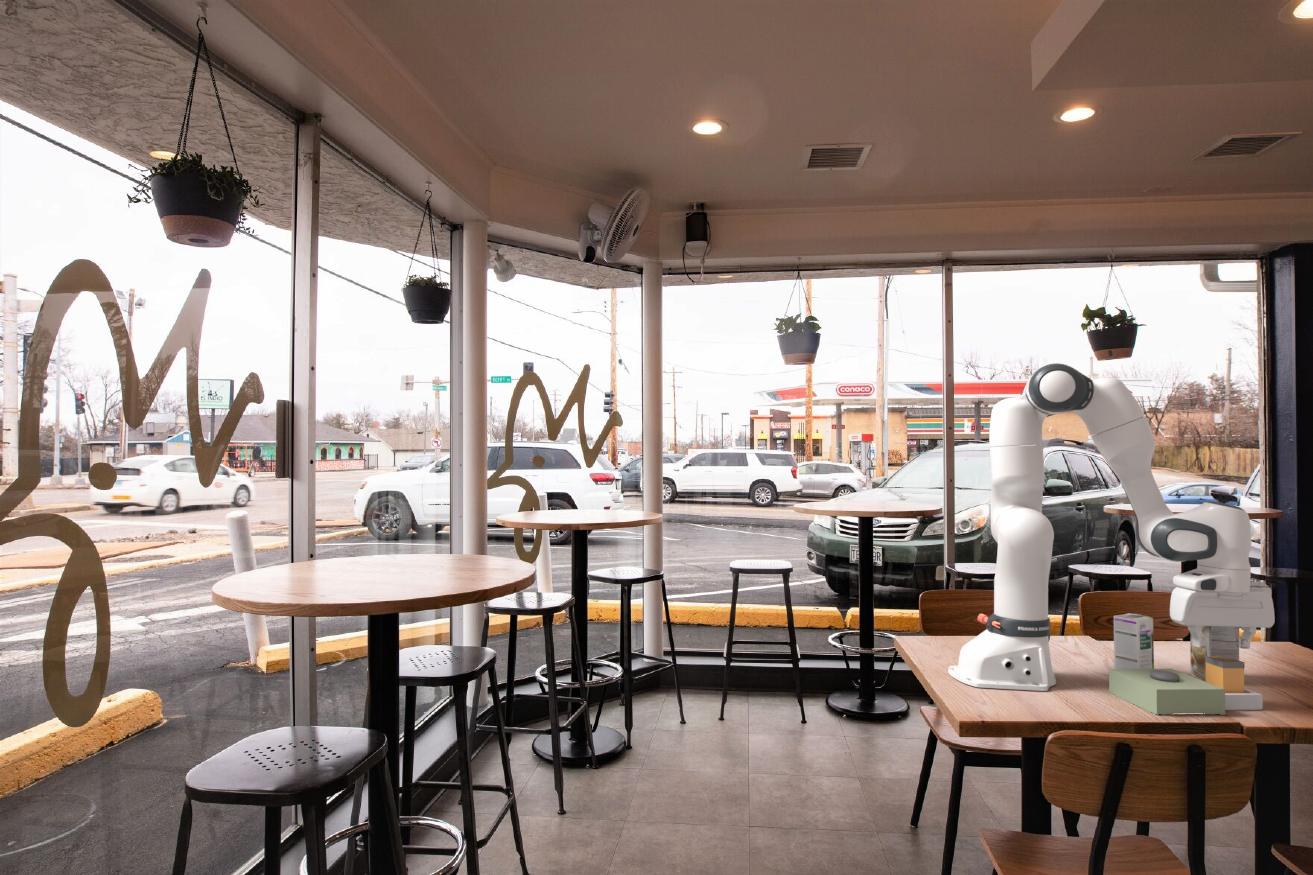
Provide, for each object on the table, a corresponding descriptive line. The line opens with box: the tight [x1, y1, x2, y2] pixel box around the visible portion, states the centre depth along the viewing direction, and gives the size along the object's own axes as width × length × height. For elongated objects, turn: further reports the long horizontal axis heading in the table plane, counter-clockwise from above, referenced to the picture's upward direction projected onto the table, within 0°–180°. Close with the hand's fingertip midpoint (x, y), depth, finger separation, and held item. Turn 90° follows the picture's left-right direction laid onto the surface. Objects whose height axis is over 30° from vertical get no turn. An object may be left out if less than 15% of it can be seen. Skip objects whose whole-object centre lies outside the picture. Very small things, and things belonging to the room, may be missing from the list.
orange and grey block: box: [1205, 656, 1246, 693], centre depth 153 cm, size 5×5×9 cm
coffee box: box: [1189, 626, 1240, 681], centre depth 171 cm, size 9×6×16 cm
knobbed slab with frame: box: [1108, 668, 1264, 716], centre depth 153 cm, size 24×14×6 cm, turn 93°
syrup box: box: [1113, 613, 1155, 669], centre depth 169 cm, size 6×6×14 cm
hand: (1221, 647), depth 154 cm, fingers open, 8 cm apart
